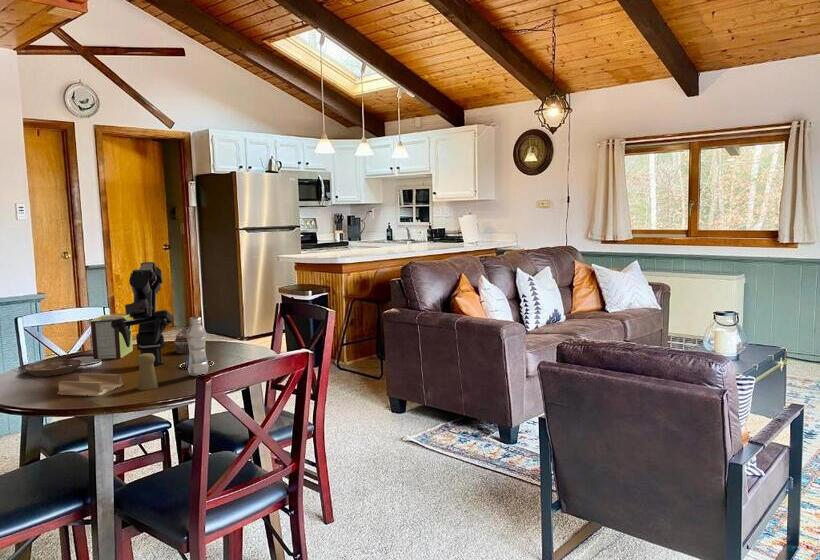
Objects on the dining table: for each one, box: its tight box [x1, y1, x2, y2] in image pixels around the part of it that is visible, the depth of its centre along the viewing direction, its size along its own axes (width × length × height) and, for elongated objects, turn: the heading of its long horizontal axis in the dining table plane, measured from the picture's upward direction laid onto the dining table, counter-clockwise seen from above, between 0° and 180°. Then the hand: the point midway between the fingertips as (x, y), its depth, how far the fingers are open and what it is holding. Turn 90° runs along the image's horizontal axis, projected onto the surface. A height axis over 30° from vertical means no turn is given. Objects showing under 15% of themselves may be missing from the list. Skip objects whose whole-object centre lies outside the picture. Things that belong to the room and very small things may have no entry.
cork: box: [136, 353, 159, 391], centre depth 195 cm, size 6×6×11 cm
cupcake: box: [173, 326, 190, 354], centre depth 248 cm, size 10×10×10 cm
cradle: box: [57, 372, 124, 397], centre depth 194 cm, size 12×14×4 cm
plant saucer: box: [24, 358, 83, 377], centre depth 219 cm, size 18×18×3 cm
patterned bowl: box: [179, 353, 215, 370], centre depth 224 cm, size 12×12×5 cm
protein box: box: [90, 313, 134, 360], centre depth 244 cm, size 10×15×16 cm
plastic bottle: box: [186, 316, 209, 377], centre depth 208 cm, size 6×7×20 cm
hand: (141, 344), depth 203 cm, fingers open, 9 cm apart
